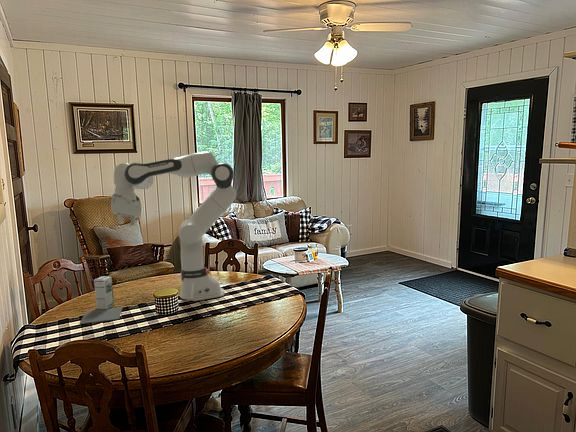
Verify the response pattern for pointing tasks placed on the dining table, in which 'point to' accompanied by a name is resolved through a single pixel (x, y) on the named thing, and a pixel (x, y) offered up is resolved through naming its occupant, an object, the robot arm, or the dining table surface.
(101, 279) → the syrup box
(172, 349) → the dining table surface
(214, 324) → the dining table surface
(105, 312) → the mat
